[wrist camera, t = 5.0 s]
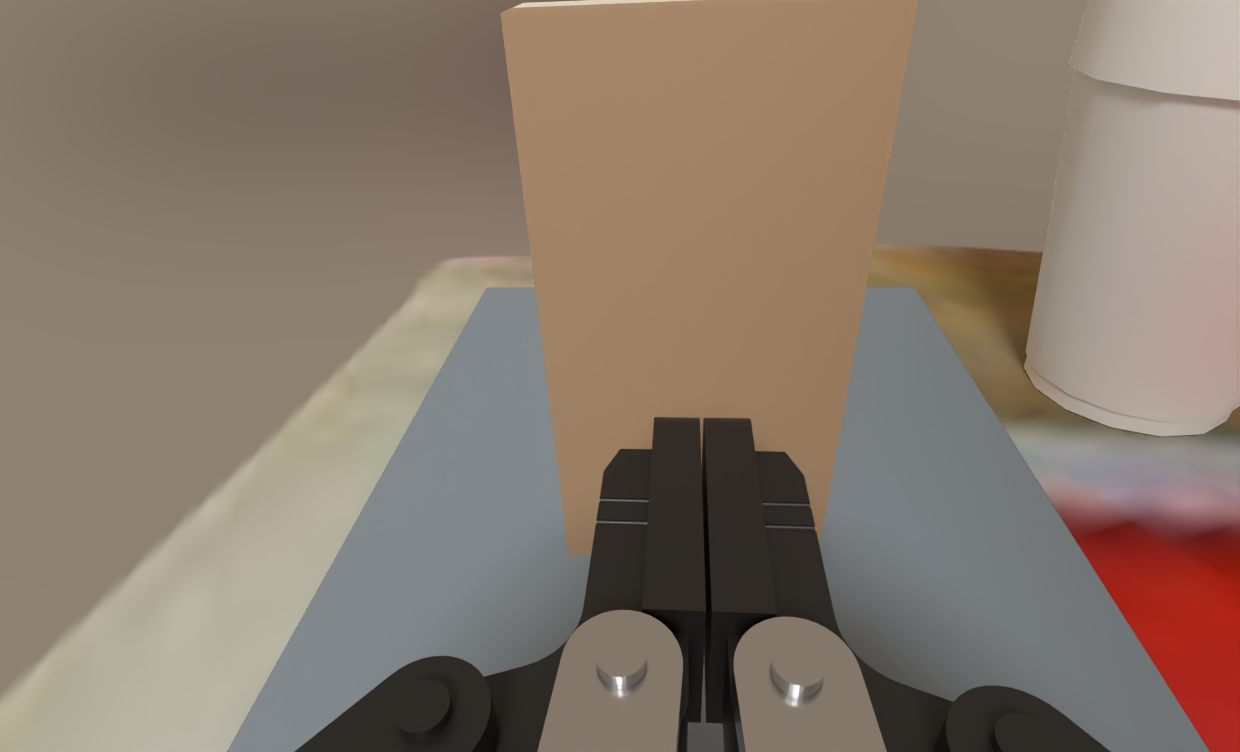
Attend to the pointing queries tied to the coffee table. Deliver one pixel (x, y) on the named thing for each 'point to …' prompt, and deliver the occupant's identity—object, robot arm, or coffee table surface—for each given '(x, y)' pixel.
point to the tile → (701, 216)
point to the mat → (850, 546)
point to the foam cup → (1146, 222)
